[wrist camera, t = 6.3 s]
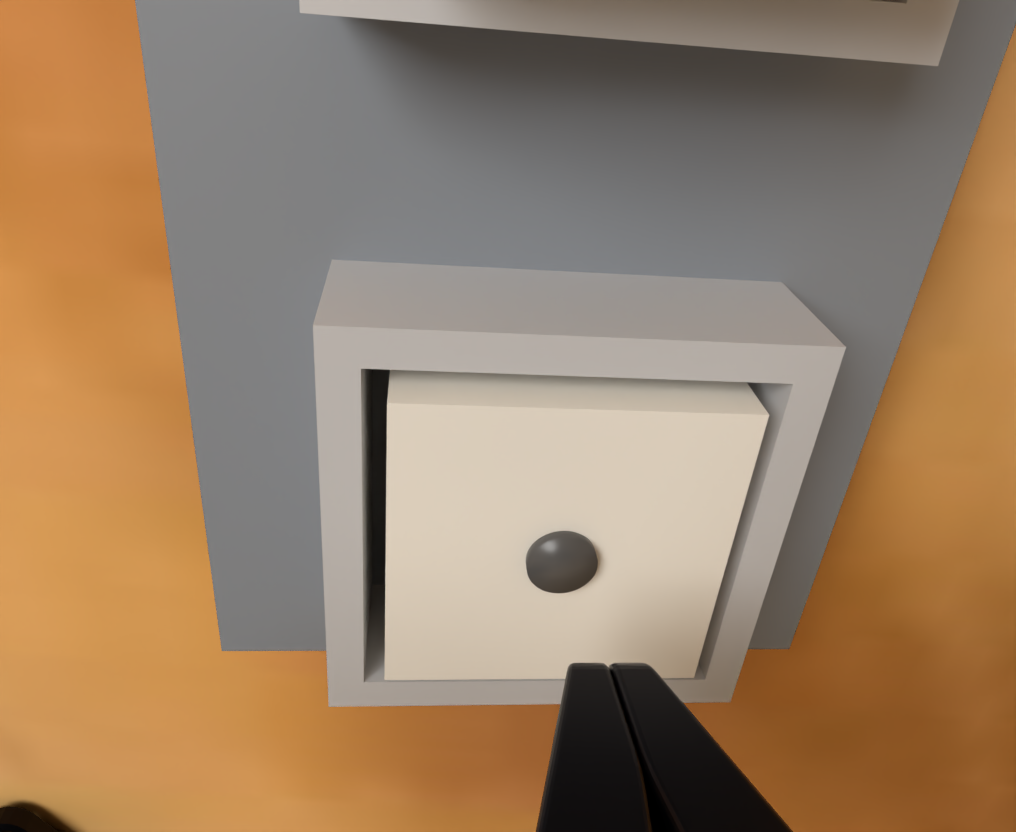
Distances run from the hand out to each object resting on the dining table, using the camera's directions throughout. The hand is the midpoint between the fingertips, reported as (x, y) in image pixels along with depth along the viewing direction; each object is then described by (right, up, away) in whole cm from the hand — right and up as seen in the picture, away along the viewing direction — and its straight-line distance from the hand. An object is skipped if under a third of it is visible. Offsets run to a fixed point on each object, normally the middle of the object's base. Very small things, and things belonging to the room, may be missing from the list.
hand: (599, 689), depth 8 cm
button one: (0, +2, +4) cm, 4 cm away
